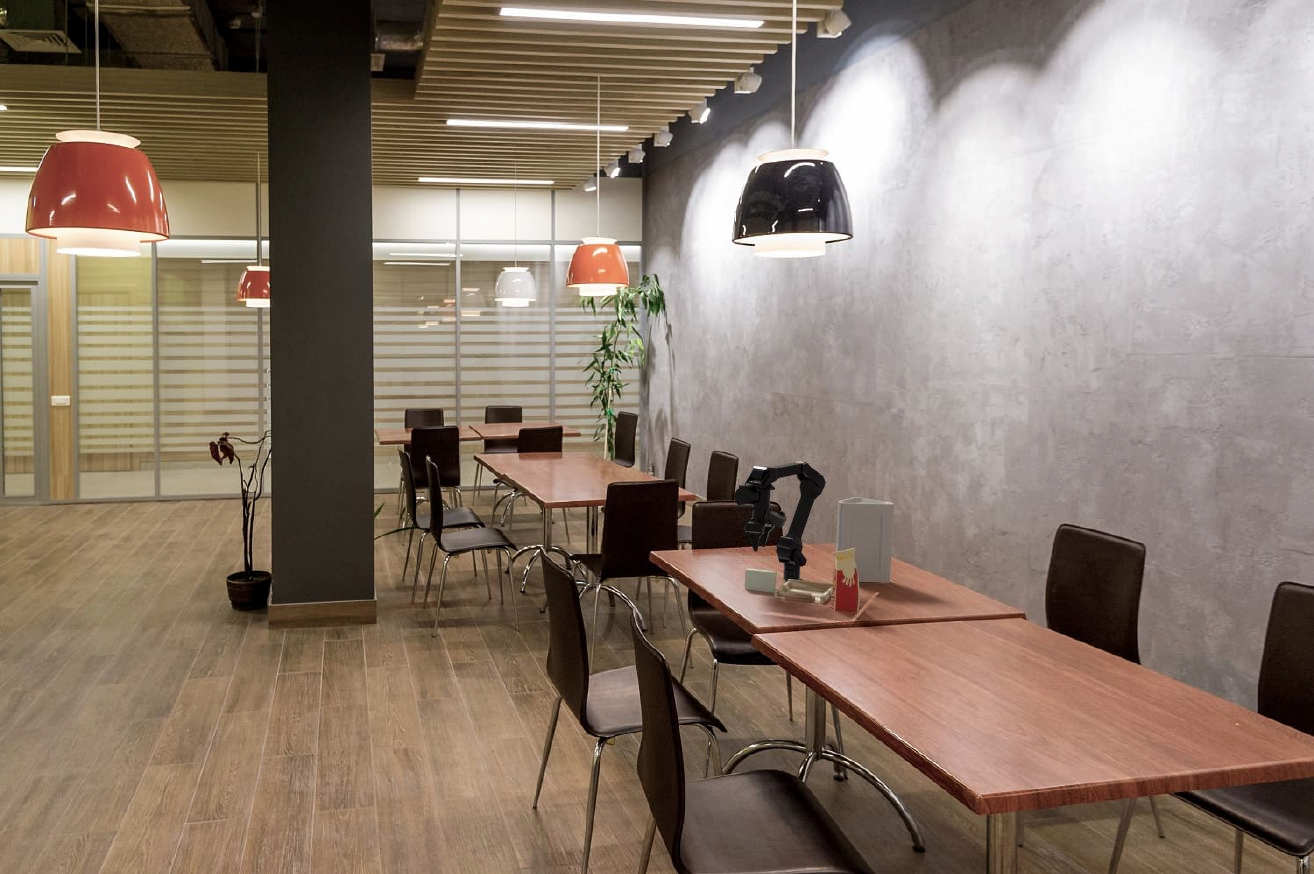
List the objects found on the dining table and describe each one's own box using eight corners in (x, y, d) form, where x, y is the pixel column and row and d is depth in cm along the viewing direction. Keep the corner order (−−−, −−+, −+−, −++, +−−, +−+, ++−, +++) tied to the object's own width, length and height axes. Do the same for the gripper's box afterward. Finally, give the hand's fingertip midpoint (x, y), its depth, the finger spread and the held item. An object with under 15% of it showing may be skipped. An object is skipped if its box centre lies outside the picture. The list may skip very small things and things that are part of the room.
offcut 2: (787, 596, 344) (788, 592, 344) (815, 599, 341) (815, 596, 340) (784, 598, 340) (784, 595, 340) (812, 601, 337) (812, 598, 337)
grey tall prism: (879, 574, 387) (883, 498, 385) (890, 583, 373) (894, 504, 370) (827, 573, 386) (831, 496, 384) (837, 582, 371) (840, 503, 369)
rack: (788, 589, 358) (788, 578, 358) (835, 594, 352) (835, 584, 352) (774, 600, 341) (774, 589, 341) (823, 606, 336) (823, 595, 335)
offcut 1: (786, 593, 343) (787, 590, 343) (811, 595, 341) (811, 592, 341) (785, 595, 340) (785, 592, 339) (810, 598, 337) (810, 595, 337)
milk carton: (857, 607, 335) (860, 545, 334) (859, 615, 326) (862, 550, 324) (828, 606, 336) (831, 543, 335) (829, 613, 327) (832, 549, 325)
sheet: (746, 588, 354) (747, 568, 354) (775, 592, 351) (776, 571, 350) (744, 590, 352) (745, 569, 352) (773, 593, 348) (774, 572, 348)
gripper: (777, 509, 346) (775, 556, 347) (791, 502, 363) (789, 547, 365) (744, 506, 350) (742, 552, 351) (760, 499, 367) (758, 543, 369)
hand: (759, 549), depth 359 cm, fingers open, 9 cm apart
